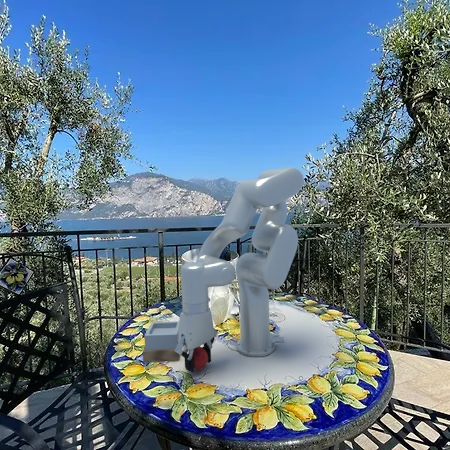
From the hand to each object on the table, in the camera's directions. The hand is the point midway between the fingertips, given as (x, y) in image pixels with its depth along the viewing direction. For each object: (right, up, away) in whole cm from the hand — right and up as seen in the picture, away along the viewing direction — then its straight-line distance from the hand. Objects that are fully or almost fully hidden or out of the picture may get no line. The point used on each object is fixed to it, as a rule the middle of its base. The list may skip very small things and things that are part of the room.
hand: (198, 365), depth 90 cm
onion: (0, -2, 0) cm, 2 cm away
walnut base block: (-12, -1, +11) cm, 17 cm away
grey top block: (-12, +3, +11) cm, 16 cm away
